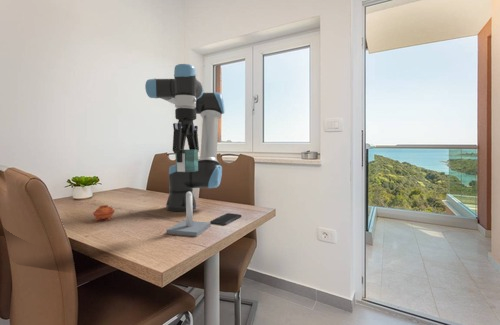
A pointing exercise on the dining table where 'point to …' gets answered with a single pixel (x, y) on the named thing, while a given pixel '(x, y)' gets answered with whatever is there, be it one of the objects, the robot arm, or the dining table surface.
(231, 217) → the phone
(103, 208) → the pot
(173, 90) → the robot arm
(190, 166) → the bead
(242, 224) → the dining table surface
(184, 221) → the spindle plate
